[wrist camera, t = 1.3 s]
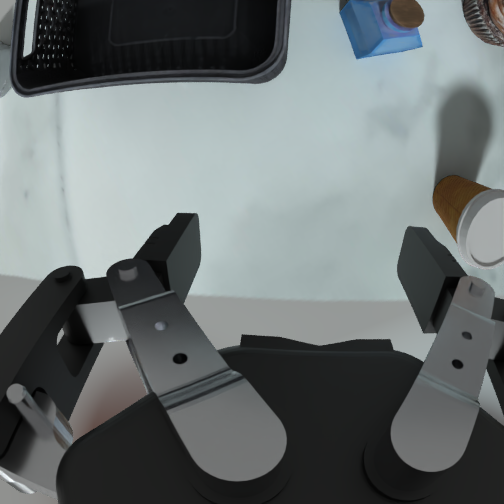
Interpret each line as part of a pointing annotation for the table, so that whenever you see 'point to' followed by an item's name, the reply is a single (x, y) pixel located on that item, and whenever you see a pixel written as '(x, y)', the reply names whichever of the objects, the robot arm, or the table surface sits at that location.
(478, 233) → the disposable coffee cup
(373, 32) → the perfume bottle
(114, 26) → the storage bin
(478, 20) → the cupcake
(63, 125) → the table surface
